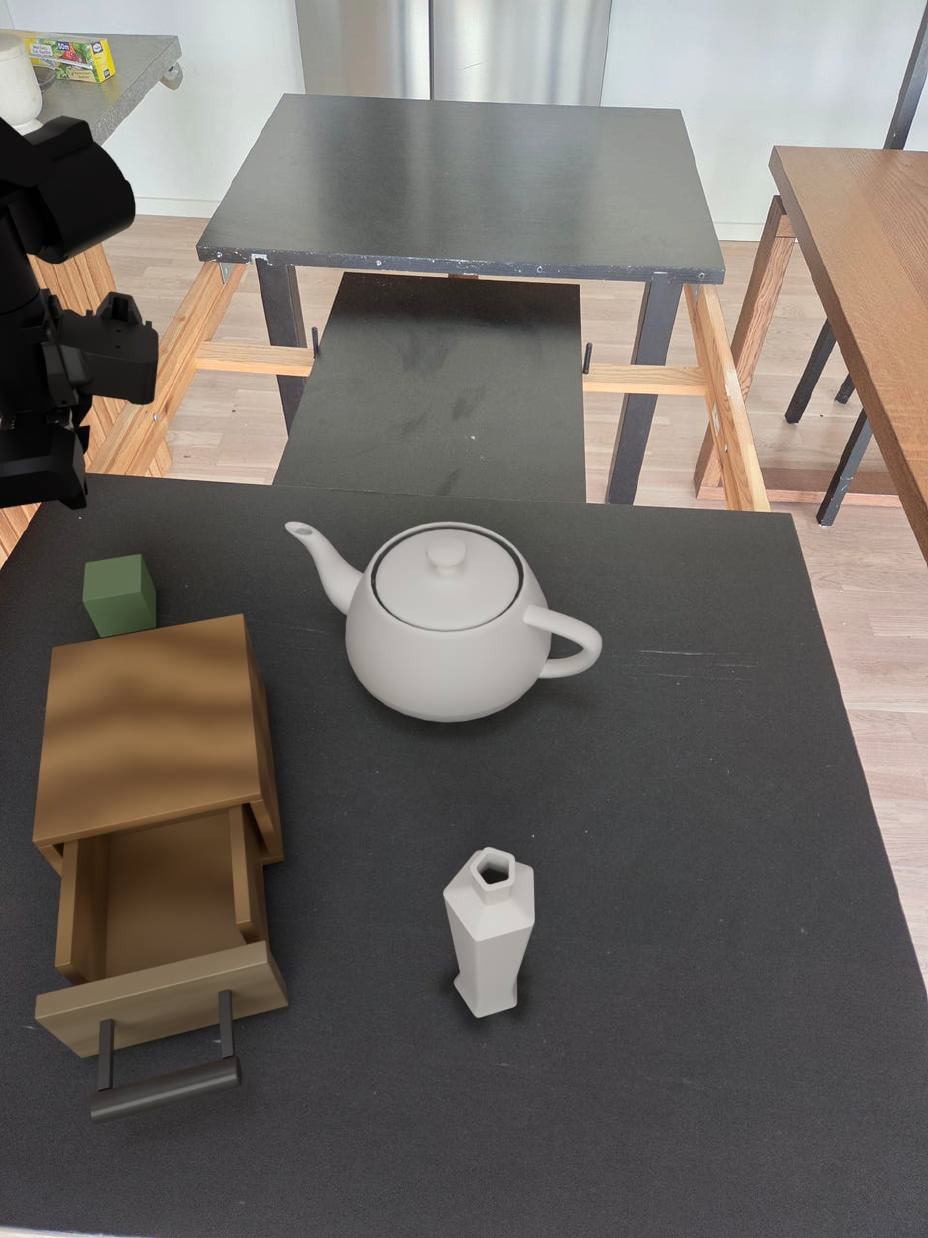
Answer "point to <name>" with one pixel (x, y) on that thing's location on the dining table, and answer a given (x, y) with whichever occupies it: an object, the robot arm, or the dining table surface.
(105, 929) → the drawer
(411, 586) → the teapot
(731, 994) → the dining table surface
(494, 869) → the white faceted vase
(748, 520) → the dining table surface
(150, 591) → the block
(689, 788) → the dining table surface
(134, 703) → the cabinet
